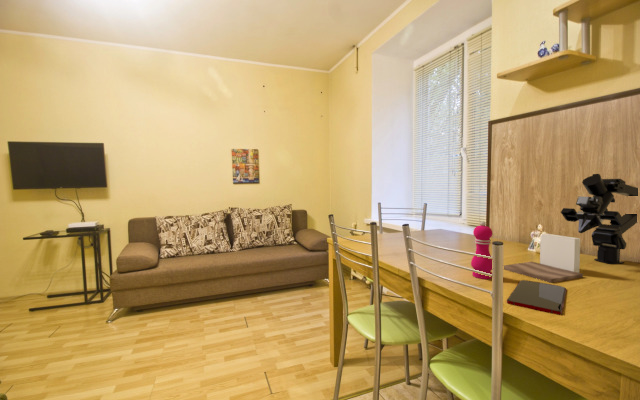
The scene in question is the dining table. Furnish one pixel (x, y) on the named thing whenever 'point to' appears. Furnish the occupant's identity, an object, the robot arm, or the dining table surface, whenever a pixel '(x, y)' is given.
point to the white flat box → (560, 252)
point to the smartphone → (538, 296)
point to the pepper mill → (482, 250)
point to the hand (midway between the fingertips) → (579, 232)
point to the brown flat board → (543, 271)
